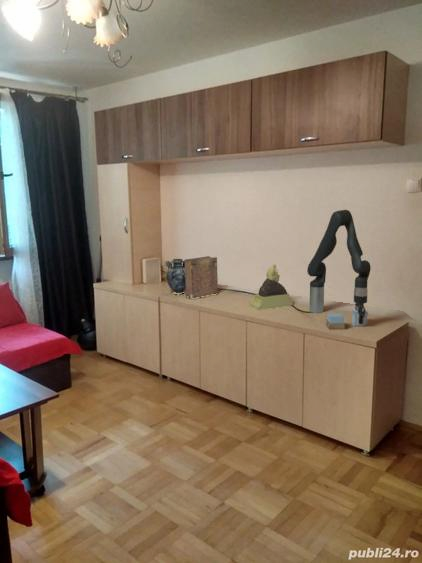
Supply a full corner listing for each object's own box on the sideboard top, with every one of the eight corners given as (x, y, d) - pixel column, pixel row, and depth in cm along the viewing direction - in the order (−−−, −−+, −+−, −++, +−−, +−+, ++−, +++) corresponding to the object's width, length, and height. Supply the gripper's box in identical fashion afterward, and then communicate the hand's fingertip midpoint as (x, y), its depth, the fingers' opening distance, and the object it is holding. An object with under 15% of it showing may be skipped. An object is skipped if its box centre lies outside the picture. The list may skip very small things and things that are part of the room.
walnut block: (326, 325, 275) (326, 319, 274) (341, 325, 275) (341, 319, 274) (328, 330, 266) (329, 323, 266) (344, 330, 266) (344, 323, 265)
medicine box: (364, 324, 275) (365, 310, 274) (367, 326, 271) (367, 312, 269) (351, 324, 275) (352, 310, 274) (354, 326, 271) (354, 312, 269)
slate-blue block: (327, 319, 274) (327, 313, 273) (340, 319, 273) (341, 312, 273) (329, 323, 266) (330, 316, 265) (343, 323, 266) (344, 316, 265)
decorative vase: (184, 289, 385) (183, 256, 379) (195, 293, 370) (194, 259, 364) (161, 293, 374) (160, 259, 368) (172, 297, 358) (170, 262, 353)
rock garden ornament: (283, 301, 336) (283, 261, 330) (293, 305, 324) (293, 263, 318) (249, 306, 325) (249, 264, 319) (258, 310, 313) (257, 267, 308)
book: (210, 292, 372) (209, 256, 366) (218, 294, 365) (217, 257, 359) (185, 297, 356) (184, 259, 350) (193, 299, 349) (192, 260, 343)
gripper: (351, 291, 277) (350, 319, 280) (357, 297, 263) (356, 325, 266) (363, 291, 276) (362, 319, 280) (370, 297, 262) (369, 325, 266)
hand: (359, 322), depth 273 cm, fingers closed on medicine box, 4 cm apart
